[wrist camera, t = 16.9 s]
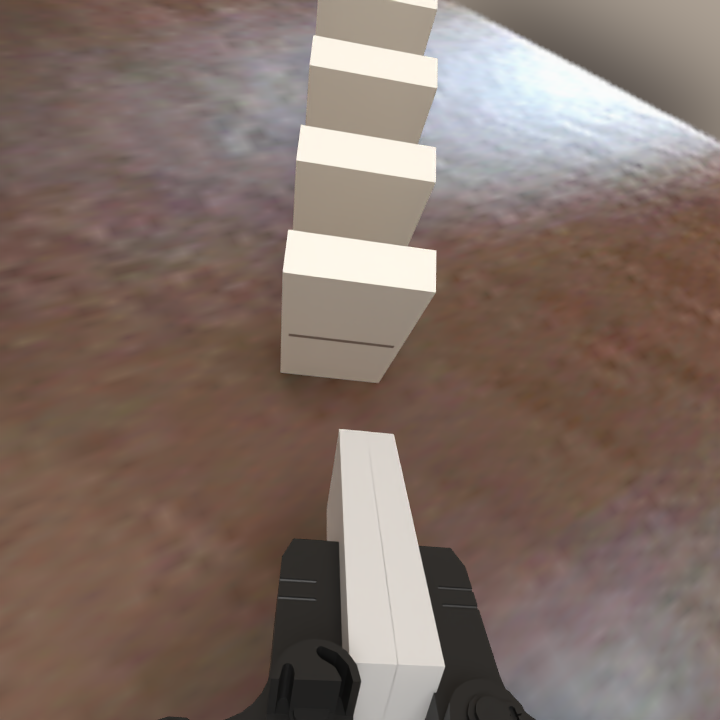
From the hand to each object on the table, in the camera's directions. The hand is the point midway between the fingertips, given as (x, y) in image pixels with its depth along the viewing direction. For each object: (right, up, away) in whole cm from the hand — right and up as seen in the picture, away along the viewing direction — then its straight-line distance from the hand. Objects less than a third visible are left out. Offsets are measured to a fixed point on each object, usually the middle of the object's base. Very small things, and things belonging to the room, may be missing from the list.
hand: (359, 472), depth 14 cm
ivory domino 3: (-1, +7, +13) cm, 15 cm away
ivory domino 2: (-1, +11, +15) cm, 19 cm away
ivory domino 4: (-1, +3, +12) cm, 12 cm away
